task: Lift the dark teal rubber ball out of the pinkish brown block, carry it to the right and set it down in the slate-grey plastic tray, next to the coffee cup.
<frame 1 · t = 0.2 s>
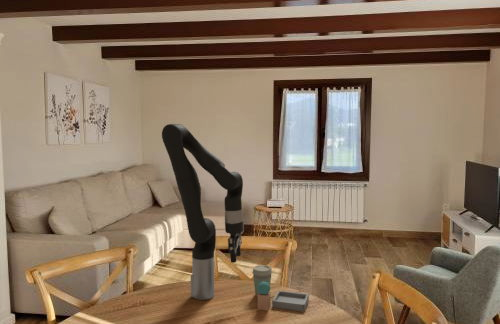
hand: (235, 259, 168), 18 cm above the table, tool pointing down, fingers open, 8 cm apart
ball: (264, 294, 161), point 6 cm above the table, touching pinkish brown block
pinkish brown block: (264, 307, 162), on the table
coffee cup: (262, 295, 174), on the table
tray: (290, 303, 166), on the table
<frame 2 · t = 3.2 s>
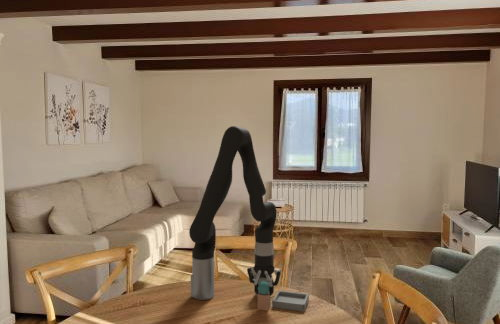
hand: (264, 293, 161), 6 cm above the table, tool pointing down, fingers closed on ball, 5 cm apart
ball: (264, 294, 161), point 6 cm above the table, touching pinkish brown block, gripper
everything else where it was.
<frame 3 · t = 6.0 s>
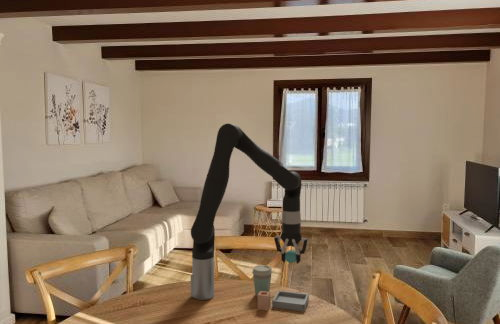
hand: (291, 262, 164), 17 cm above the table, tool pointing down, fingers closed on ball, 5 cm apart
ball: (291, 262, 164), point 17 cm above the table, touching gripper
everything else where it was.
when the fingers open (3 cm above the table, at t = 8.8 s): ball drops 2 cm, resting on tray.
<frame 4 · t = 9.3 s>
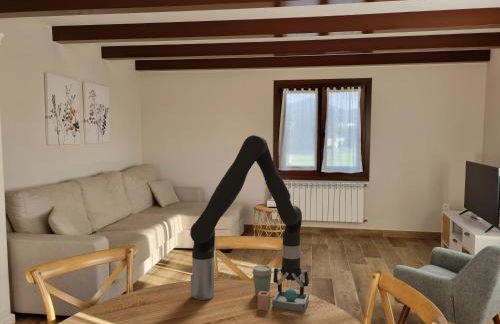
hand: (290, 294, 165), 4 cm above the table, tool pointing down, fingers open, 8 cm apart
ball: (290, 300, 165), point 1 cm above the table, touching tray
everything else where it was.
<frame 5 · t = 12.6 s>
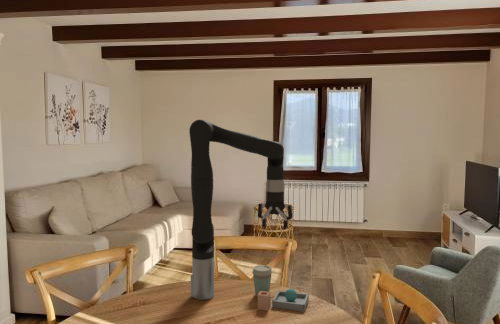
hand: (274, 228, 168), 30 cm above the table, tool pointing down, fingers open, 8 cm apart
nothing on the table moved.
at the end: ball inside the target area on the tray (0.1 cm from its centre), point 1.2 cm above the tray's base; the gripper is holding nothing; ball touching tray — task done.
